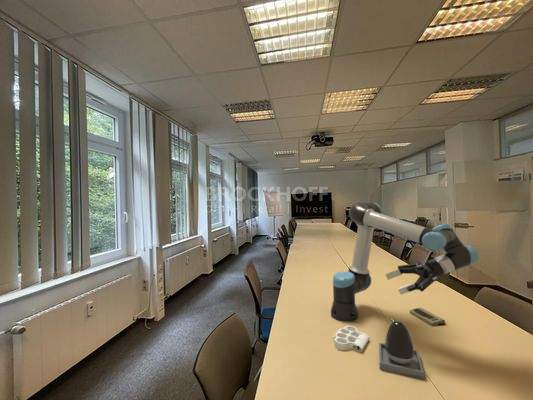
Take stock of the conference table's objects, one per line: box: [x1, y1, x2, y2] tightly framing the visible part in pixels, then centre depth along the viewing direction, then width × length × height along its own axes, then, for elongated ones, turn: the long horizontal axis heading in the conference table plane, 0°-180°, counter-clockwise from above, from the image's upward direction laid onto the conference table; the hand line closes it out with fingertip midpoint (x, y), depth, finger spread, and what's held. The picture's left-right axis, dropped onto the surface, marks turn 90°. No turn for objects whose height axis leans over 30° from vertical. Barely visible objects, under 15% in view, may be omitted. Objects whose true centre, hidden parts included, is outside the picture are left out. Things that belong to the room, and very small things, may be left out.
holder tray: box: [378, 342, 425, 380], centre depth 98 cm, size 15×15×2 cm
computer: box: [409, 307, 446, 327], centre depth 134 cm, size 16×8×3 cm, turn 10°
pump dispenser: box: [384, 317, 415, 364], centre depth 98 cm, size 10×10×15 cm
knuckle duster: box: [332, 325, 370, 353], centre depth 114 cm, size 3×18×15 cm
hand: (392, 283), depth 113 cm, fingers open, 13 cm apart
